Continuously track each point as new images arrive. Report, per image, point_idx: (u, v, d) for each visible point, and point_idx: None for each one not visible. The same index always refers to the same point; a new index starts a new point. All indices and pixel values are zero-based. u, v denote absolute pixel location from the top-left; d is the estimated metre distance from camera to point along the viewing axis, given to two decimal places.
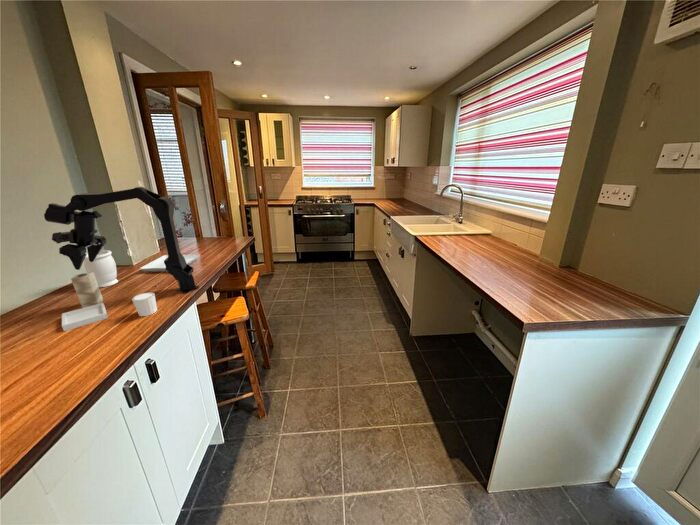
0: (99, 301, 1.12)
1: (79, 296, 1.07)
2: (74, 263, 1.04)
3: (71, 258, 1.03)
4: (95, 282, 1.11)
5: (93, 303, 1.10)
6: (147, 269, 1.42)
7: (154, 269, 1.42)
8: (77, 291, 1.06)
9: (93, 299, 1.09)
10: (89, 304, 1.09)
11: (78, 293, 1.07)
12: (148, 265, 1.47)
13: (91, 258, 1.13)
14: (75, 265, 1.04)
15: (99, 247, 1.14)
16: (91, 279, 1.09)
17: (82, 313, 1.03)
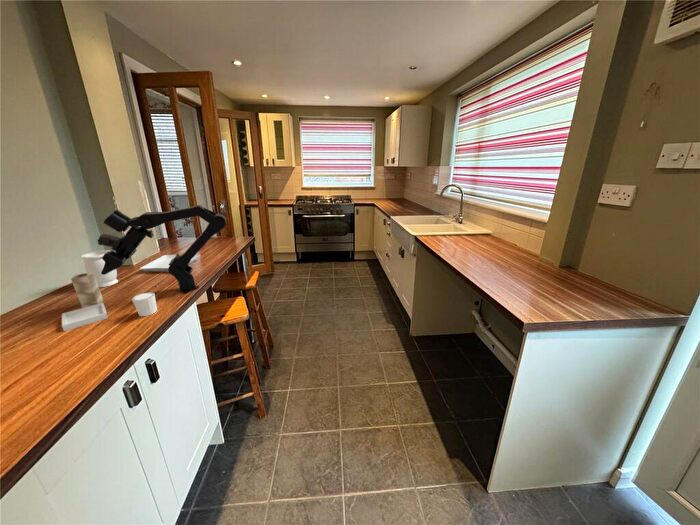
0: (99, 301, 1.12)
1: (79, 296, 1.07)
2: (105, 268, 1.05)
3: (106, 264, 1.04)
4: (95, 282, 1.11)
5: (93, 303, 1.10)
6: (147, 269, 1.42)
7: (154, 269, 1.42)
8: (77, 291, 1.06)
9: (93, 299, 1.09)
10: (89, 304, 1.09)
11: (78, 293, 1.07)
12: (148, 265, 1.47)
13: None
14: (104, 270, 1.05)
15: (128, 257, 1.16)
16: (91, 279, 1.09)
17: (82, 313, 1.03)
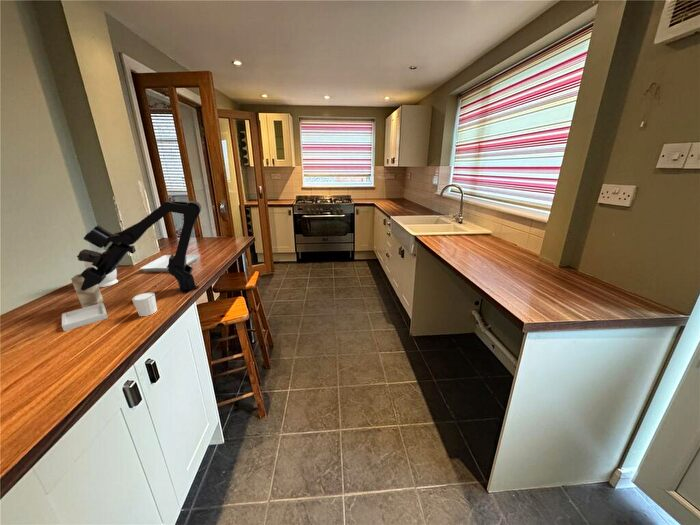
0: (99, 301, 1.12)
1: (79, 296, 1.07)
2: (84, 284, 1.04)
3: (85, 280, 1.03)
4: None
5: (93, 303, 1.10)
6: (147, 269, 1.42)
7: (154, 269, 1.42)
8: (77, 291, 1.06)
9: (93, 299, 1.09)
10: (89, 304, 1.09)
11: (78, 293, 1.07)
12: (148, 265, 1.47)
13: None
14: (83, 286, 1.04)
15: (109, 271, 1.15)
16: None
17: (82, 313, 1.03)
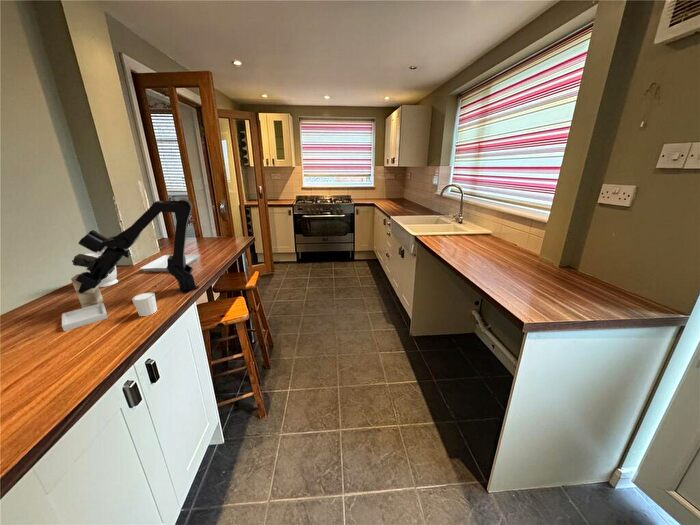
0: (99, 301, 1.12)
1: (79, 296, 1.07)
2: (82, 287, 1.06)
3: (83, 283, 1.05)
4: None
5: (93, 303, 1.10)
6: (147, 269, 1.42)
7: (154, 269, 1.42)
8: (77, 291, 1.06)
9: (93, 299, 1.09)
10: (89, 304, 1.09)
11: (78, 293, 1.07)
12: (148, 265, 1.47)
13: None
14: (81, 289, 1.06)
15: (103, 277, 1.13)
16: None
17: (82, 313, 1.03)
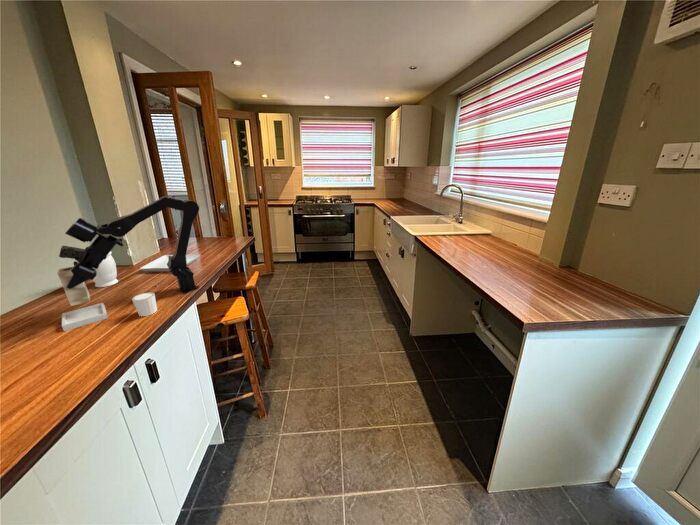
0: (89, 297, 1.02)
1: (67, 292, 0.97)
2: (72, 281, 0.96)
3: (74, 276, 0.96)
4: None
5: (84, 299, 1.00)
6: (147, 269, 1.42)
7: (154, 269, 1.42)
8: (65, 287, 0.96)
9: (83, 295, 1.00)
10: (79, 300, 0.99)
11: (66, 289, 0.96)
12: (148, 265, 1.47)
13: None
14: (71, 284, 0.96)
15: None
16: None
17: (82, 313, 1.03)
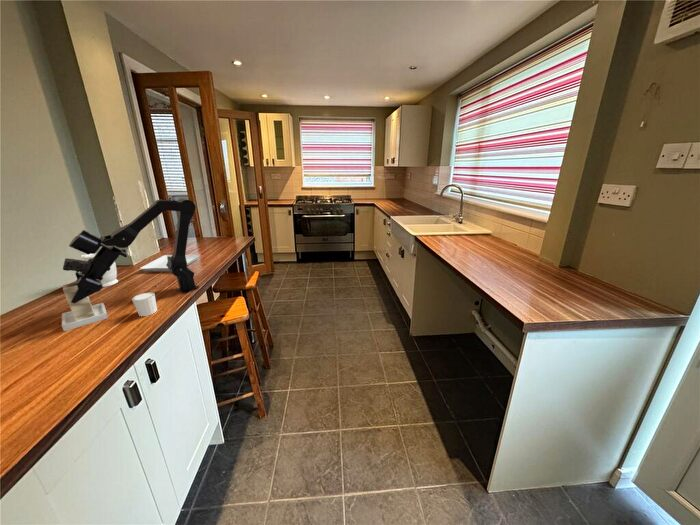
0: (93, 312, 1.02)
1: (72, 308, 0.97)
2: (77, 296, 0.94)
3: (79, 291, 0.94)
4: None
5: (89, 314, 1.00)
6: (147, 269, 1.42)
7: (154, 269, 1.42)
8: (70, 303, 0.96)
9: (88, 310, 1.00)
10: (84, 316, 0.99)
11: (71, 305, 0.96)
12: (148, 265, 1.47)
13: None
14: (75, 298, 0.94)
15: None
16: None
17: None
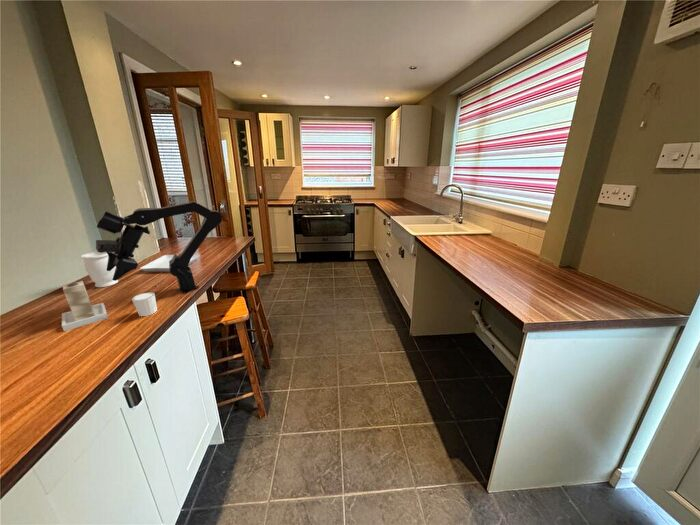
0: (93, 312, 1.02)
1: (72, 308, 0.97)
2: (117, 274, 1.04)
3: (118, 270, 1.03)
4: (86, 291, 1.01)
5: (89, 314, 1.00)
6: (147, 269, 1.42)
7: (154, 269, 1.42)
8: (70, 303, 0.96)
9: (88, 310, 1.00)
10: (84, 316, 0.99)
11: (71, 305, 0.96)
12: (148, 265, 1.47)
13: (110, 267, 1.10)
14: (116, 276, 1.04)
15: None
16: (84, 287, 0.99)
17: None
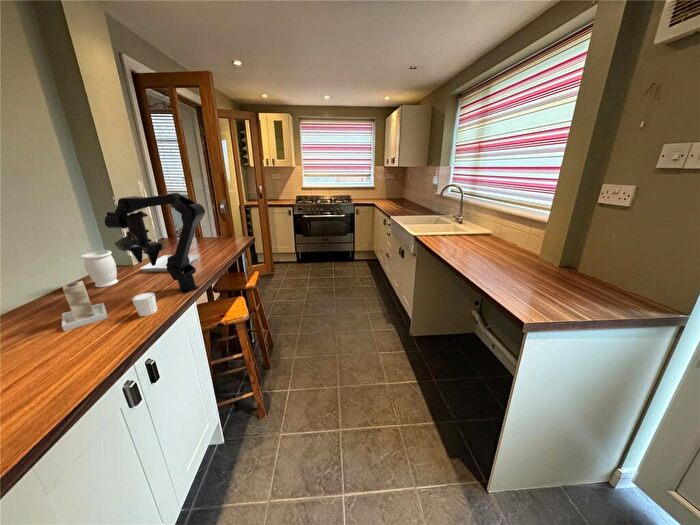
0: (93, 312, 1.02)
1: (72, 308, 0.97)
2: (152, 259, 1.16)
3: (151, 256, 1.15)
4: (86, 291, 1.01)
5: (89, 314, 1.00)
6: (147, 269, 1.42)
7: (154, 269, 1.42)
8: (70, 303, 0.96)
9: (88, 310, 1.00)
10: (84, 316, 0.99)
11: (71, 305, 0.96)
12: (148, 265, 1.47)
13: (140, 259, 1.21)
14: (153, 261, 1.17)
15: (141, 246, 1.22)
16: (84, 287, 0.99)
17: None
